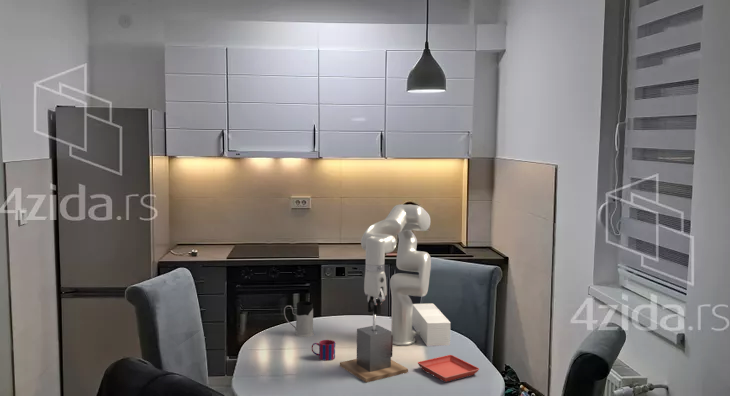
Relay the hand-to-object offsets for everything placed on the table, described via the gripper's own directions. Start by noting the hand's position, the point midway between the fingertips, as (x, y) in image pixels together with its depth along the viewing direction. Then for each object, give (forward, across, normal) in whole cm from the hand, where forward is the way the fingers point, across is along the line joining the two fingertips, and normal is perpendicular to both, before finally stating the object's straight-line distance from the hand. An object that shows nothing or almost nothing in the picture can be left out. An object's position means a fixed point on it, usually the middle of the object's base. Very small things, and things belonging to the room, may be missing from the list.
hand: (374, 312), depth 251 cm
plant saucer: (+24, -18, -24) cm, 39 cm away
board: (+24, 0, 0) cm, 24 cm away
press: (+22, 0, -2) cm, 22 cm away
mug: (+24, +22, +11) cm, 34 cm away
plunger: (+17, 0, 0) cm, 17 cm away
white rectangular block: (+24, +23, -48) cm, 58 cm away
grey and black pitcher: (+24, +55, +6) cm, 60 cm away
